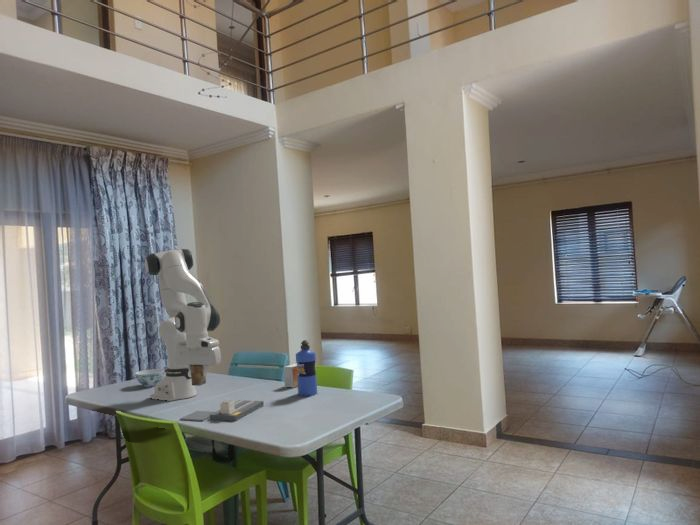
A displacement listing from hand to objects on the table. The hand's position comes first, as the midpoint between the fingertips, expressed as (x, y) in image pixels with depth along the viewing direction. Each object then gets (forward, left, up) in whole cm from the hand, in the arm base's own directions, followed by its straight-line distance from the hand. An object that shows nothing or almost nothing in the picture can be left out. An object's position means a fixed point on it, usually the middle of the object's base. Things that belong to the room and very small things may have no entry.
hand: (198, 375), depth 202 cm
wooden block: (0, 0, -4) cm, 4 cm away
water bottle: (+30, +41, -17) cm, 53 cm away
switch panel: (+13, +8, -17) cm, 23 cm away
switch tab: (+13, +1, -15) cm, 20 cm away
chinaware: (-67, +47, -17) cm, 84 cm away
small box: (+16, +55, -17) cm, 60 cm away
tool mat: (0, 0, -17) cm, 17 cm away
